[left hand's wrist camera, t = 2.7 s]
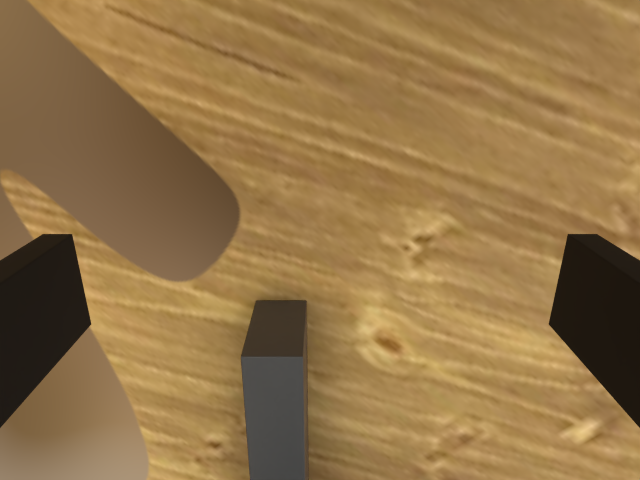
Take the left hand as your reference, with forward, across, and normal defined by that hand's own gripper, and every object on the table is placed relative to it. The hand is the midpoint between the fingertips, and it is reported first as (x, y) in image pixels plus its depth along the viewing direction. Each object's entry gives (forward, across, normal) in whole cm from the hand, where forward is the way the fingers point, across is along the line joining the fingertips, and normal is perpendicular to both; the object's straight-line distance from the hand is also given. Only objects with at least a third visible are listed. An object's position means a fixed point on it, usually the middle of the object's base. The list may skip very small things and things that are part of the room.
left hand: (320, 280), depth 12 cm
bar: (+25, -4, -28) cm, 38 cm away
